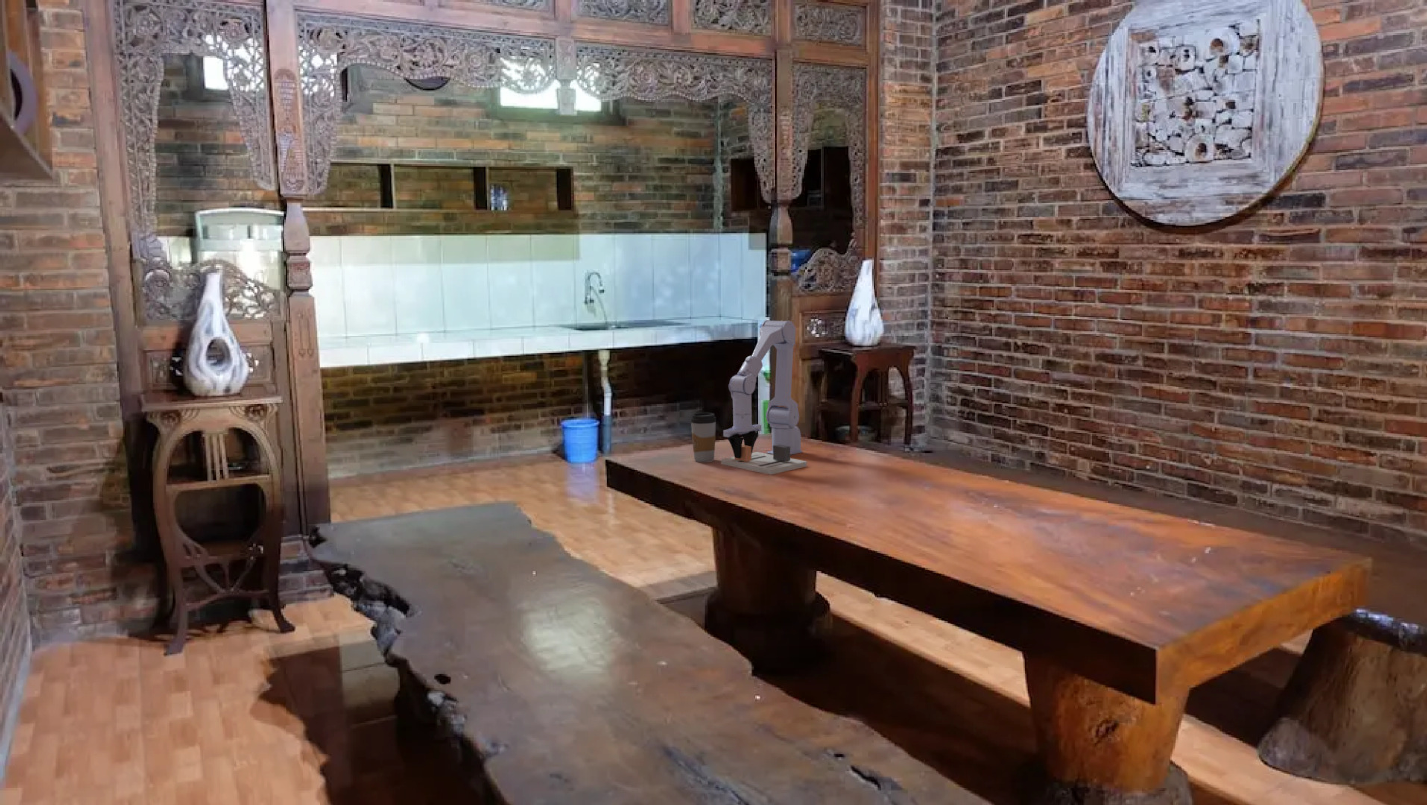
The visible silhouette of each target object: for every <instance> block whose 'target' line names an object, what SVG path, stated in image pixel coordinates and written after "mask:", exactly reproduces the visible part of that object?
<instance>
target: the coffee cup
mask: <svg viewBox="0 0 1427 805" xmlns="http://www.w3.org/2000/svg"><path fill="white" fill-rule="evenodd" d="M715 415H716V414H715V413H712V412H696V413H692V414H691V417H690V426H691V440H692V449H693V459H694V461H695V462H697V463H711V462H714V459H715V450H716V426H717V425H716V424H717V423H716V422H717V417H716V416H715Z"/></svg>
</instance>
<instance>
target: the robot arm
mask: <svg viewBox="0 0 1427 805" xmlns="http://www.w3.org/2000/svg"><path fill="white" fill-rule="evenodd" d="M796 328H797V327H796V326H795V324H794V323H793V322H792V321H791V320H769V319H765V320H764V321H763V322H762V323H761V326H760V328H759V339H758V340H757V343H756V345H755V348H754V350H753V352H752V354H751V355H749V356H747V357H746V358H745V360H744V362H742V365H741V367H740V368H739V370H738V372H737V374H735V375H733V376H732V377H731V378H730V380H729V384H728V390H729V392H730V397H731V399H732V408H733V409H732V415H733V416H732V418H733V420H732V422H733V426H732V427H730V428H728V429H723V437H724V438H726V439H727V440H728V442H729V444H730V446H731V448H732V452H733V455H734V456H733V457H735V458H741V447H742V445H746V446H751V455H752V453H753V450H754V448H755V447H754V446H755V443H756V441H757V439H758V437H759V432H762V424H757V423H756V424H753V423H752V422H753V421H752V418H753V417H752V416H753V415H752V412H753V411H752V394H753V393H754V391H755V390H756V383H757V377H758V376H759V374H760V372H761V370H762V368H763V362H762V361H763V359H764V358H765V356H766V355H767V353H768V352H769V350H770V349H771V348H772V346H774V347H775V349H776V362H775V363H776V366H775V382H774V383H775V387H774V397H773V398H772V399H771V400H769V401H768V406H767V410H766V413H765V419H766V422H767V423H768V424H769V427H770V428H771V450H768V451H766V452H765V453H766V454H771V455H773V446H774V445H778V444H779V445H784V446H790V456H793V455H796V454H799V453H803V450H802V446H801V445H802V444H801V442H802V441H801V439H802V438H801V437H802V435H801V430H800V428H799V426H797V425H798V423H799V420H800V414H799V404H798V402H796V401H795V400H794V399H793V398H792V380H793V378H792V377H793V363H794V362H793V361H794V360H793V359H794V346H795V345H796Z"/></svg>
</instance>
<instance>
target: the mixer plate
mask: <svg viewBox="0 0 1427 805" xmlns="http://www.w3.org/2000/svg"><path fill="white" fill-rule="evenodd" d="M720 464H721V465H723V466H728V467H733V468H738V469H743V470H747V471H751V472H755V473H756V472H757V473H761V474H765V475H775V474H779V473H783V472H784V473H785V472H787V471H791V470H792V471H793V470H797V469H801V468H805V467H808V461H805V460H801V459H795V458H791V457H790V461H786V462H784V461H779V460H774V459H773V454H768V453H766V452H761V451H756V452H755V451H754V452H752V455H751V461H741V460H736V459H735V456H731V457H725V458H721V459H720Z"/></svg>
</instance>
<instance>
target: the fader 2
mask: <svg viewBox="0 0 1427 805" xmlns="http://www.w3.org/2000/svg"><path fill="white" fill-rule="evenodd" d="M772 455H773V459H774V460H779V461H784V462H786V461H790V458H791V455H790V446H784V445H779V444H778V445H774V446H773V454H772Z"/></svg>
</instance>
